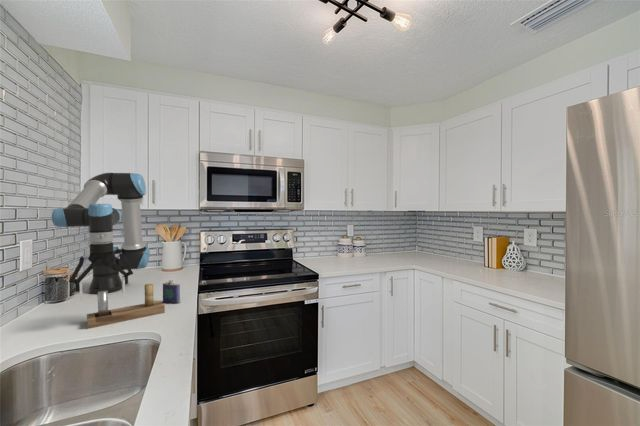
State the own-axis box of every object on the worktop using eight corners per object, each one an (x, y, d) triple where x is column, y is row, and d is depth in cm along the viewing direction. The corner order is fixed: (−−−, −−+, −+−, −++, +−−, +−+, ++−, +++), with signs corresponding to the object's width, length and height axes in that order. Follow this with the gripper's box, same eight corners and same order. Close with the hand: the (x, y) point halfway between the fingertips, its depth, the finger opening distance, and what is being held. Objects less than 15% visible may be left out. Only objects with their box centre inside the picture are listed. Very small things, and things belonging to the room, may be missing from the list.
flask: (181, 302, 141) (180, 280, 140) (176, 304, 138) (176, 281, 138) (165, 300, 143) (165, 278, 143) (160, 302, 140) (160, 280, 140)
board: (87, 321, 117) (86, 291, 117) (160, 307, 134) (159, 280, 134) (87, 328, 110) (86, 296, 110) (164, 312, 127) (164, 284, 127)
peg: (98, 321, 117) (97, 291, 117) (108, 319, 119) (107, 290, 119) (98, 324, 115) (97, 293, 115) (108, 321, 117) (107, 291, 117)
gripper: (59, 247, 106) (61, 305, 107) (139, 240, 121) (141, 291, 122) (59, 244, 111) (62, 300, 112) (136, 239, 127) (138, 287, 128)
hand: (103, 295), depth 117 cm, fingers open, 13 cm apart
